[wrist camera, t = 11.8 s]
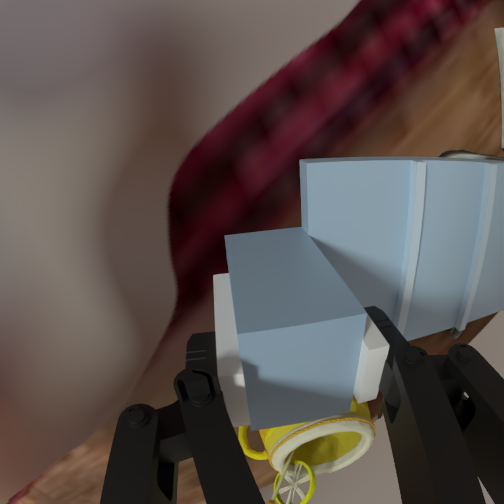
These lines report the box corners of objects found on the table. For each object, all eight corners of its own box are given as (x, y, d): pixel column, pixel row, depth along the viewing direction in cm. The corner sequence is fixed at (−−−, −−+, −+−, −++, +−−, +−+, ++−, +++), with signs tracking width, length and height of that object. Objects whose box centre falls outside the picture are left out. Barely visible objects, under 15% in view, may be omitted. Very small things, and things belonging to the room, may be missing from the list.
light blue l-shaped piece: (216, 164, 16) (222, 217, 8) (516, 160, 17) (604, 194, 9) (239, 352, 21) (256, 468, 13) (491, 297, 22) (554, 354, 14)
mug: (352, 339, 28) (408, 440, 17) (356, 405, 33) (393, 489, 22) (218, 377, 28) (227, 493, 17) (248, 436, 33) (263, 527, 22)
